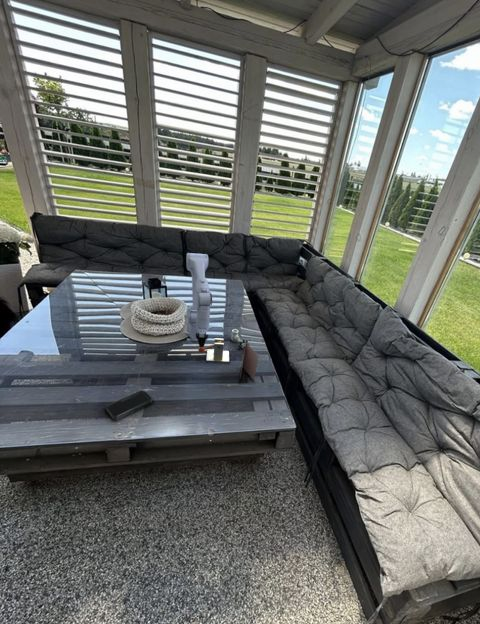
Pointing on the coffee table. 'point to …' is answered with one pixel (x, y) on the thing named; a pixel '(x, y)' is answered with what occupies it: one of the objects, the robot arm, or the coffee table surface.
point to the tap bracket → (218, 352)
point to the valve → (238, 339)
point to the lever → (202, 349)
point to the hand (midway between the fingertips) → (202, 342)
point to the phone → (128, 405)
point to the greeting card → (249, 361)
